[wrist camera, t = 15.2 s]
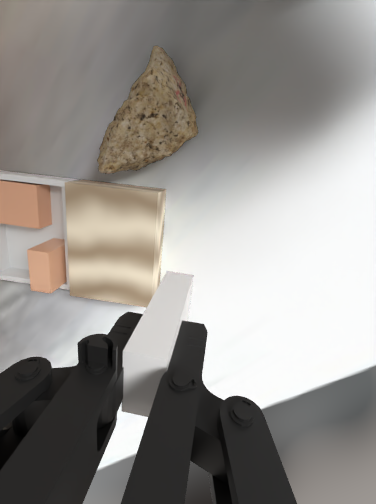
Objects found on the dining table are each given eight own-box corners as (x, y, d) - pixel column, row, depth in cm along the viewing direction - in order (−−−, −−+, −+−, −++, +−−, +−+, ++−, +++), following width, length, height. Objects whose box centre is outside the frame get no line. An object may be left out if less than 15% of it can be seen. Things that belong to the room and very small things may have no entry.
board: (83, 179, 39) (64, 182, 34) (166, 189, 38) (158, 193, 33) (86, 281, 44) (70, 295, 39) (158, 292, 43) (150, 307, 38)
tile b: (72, 240, 41) (53, 237, 42) (48, 252, 36) (26, 249, 36) (73, 276, 43) (55, 273, 44) (51, 293, 38) (30, 290, 38)
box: (-4, 169, 40) (-24, 170, 37) (80, 179, 39) (67, 181, 36) (8, 269, 45) (-8, 278, 42) (83, 280, 44) (72, 290, 41)
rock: (217, 151, 30) (163, 61, 23) (130, 206, 34) (63, 144, 27) (203, 111, 37) (158, 34, 30) (132, 161, 41) (80, 103, 35)
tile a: (36, 185, 36) (49, 183, 39) (-6, 179, 37) (10, 178, 40) (39, 228, 38) (52, 224, 41) (-1, 223, 39) (15, 219, 41)
